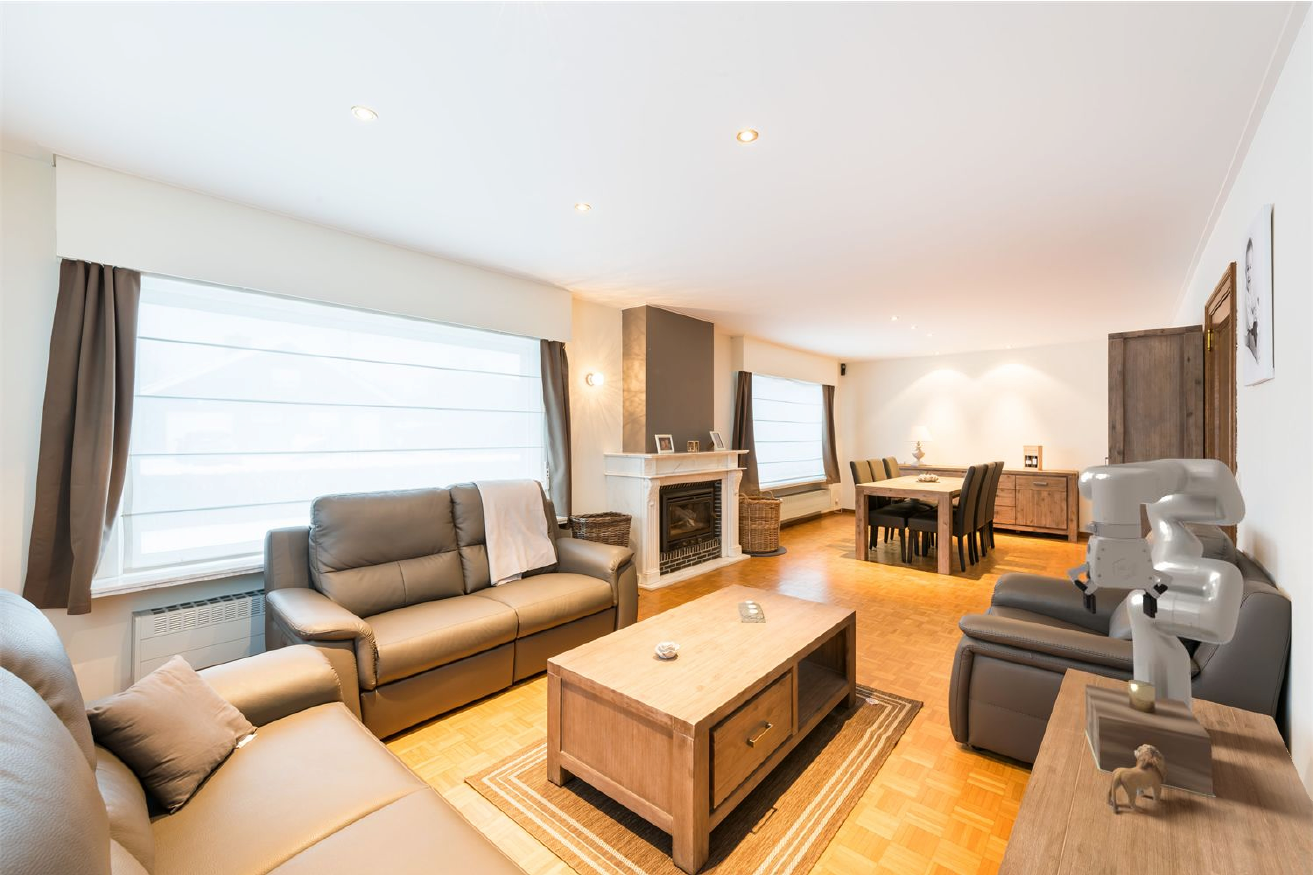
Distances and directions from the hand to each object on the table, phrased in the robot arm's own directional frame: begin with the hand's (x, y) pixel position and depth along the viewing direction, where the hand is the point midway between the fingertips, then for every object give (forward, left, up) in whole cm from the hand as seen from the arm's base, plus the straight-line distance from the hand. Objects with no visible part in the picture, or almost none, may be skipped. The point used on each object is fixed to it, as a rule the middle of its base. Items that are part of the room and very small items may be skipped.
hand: (1119, 614), depth 110 cm
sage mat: (-2, +3, -31) cm, 31 cm away
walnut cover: (-2, +3, -30) cm, 30 cm away
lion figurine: (+14, -1, -31) cm, 34 cm away
